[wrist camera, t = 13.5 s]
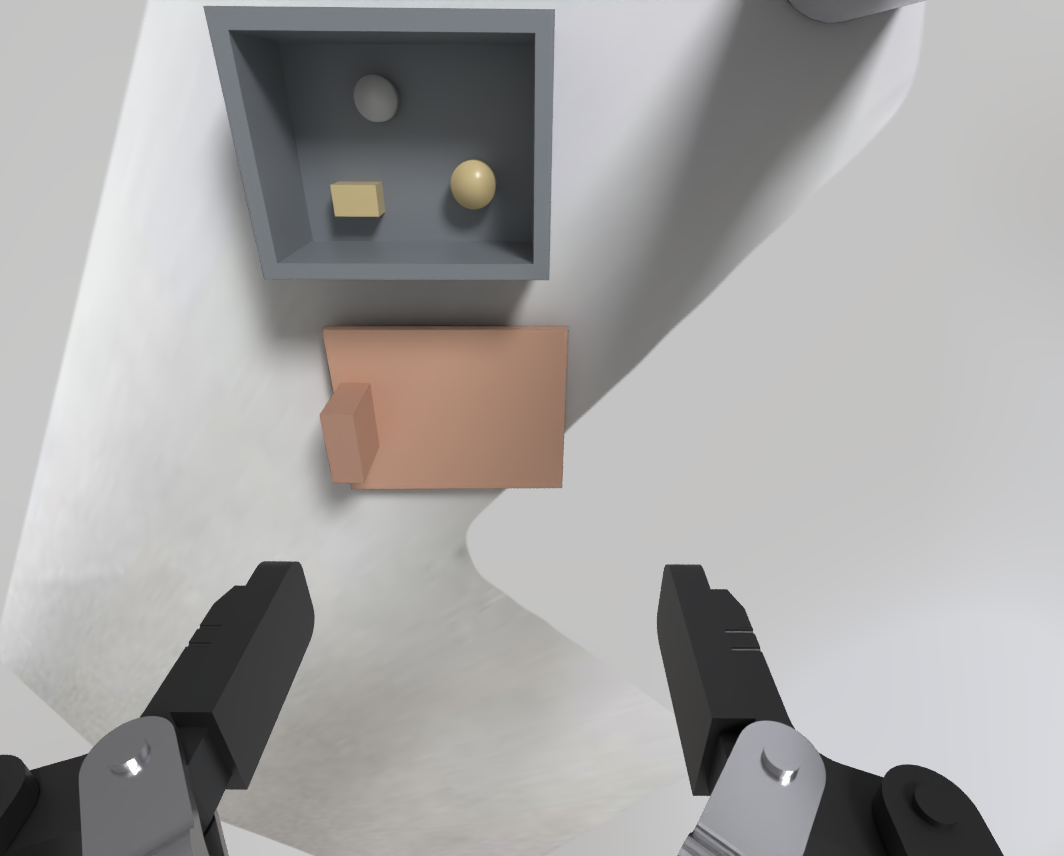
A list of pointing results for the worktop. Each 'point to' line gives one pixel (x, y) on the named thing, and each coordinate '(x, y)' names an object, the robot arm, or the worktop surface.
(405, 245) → the tub
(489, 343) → the lid
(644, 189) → the worktop surface
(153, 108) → the worktop surface
